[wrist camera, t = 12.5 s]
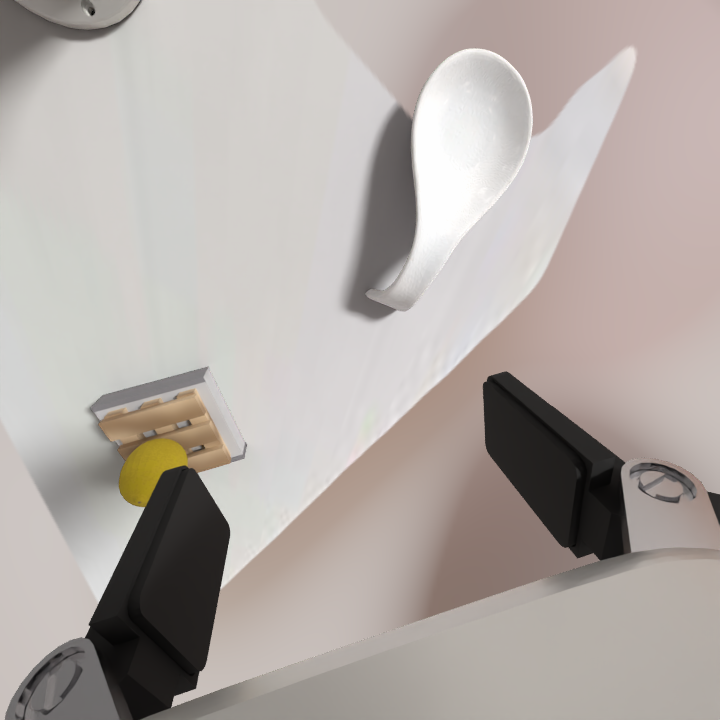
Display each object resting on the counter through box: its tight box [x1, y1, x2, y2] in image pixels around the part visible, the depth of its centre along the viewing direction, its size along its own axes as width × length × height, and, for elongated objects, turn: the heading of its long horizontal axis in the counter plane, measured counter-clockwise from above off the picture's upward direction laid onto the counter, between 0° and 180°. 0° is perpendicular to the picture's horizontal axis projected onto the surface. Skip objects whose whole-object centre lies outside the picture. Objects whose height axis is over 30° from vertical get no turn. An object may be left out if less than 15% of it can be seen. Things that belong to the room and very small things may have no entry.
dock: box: [90, 367, 247, 463], centre depth 39 cm, size 12×12×3 cm
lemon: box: [119, 438, 188, 507], centre depth 33 cm, size 6×6×8 cm
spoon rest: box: [366, 48, 533, 311], centre depth 32 cm, size 24×12×7 cm, turn 157°
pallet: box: [98, 388, 231, 473], centre depth 37 cm, size 10×10×2 cm
